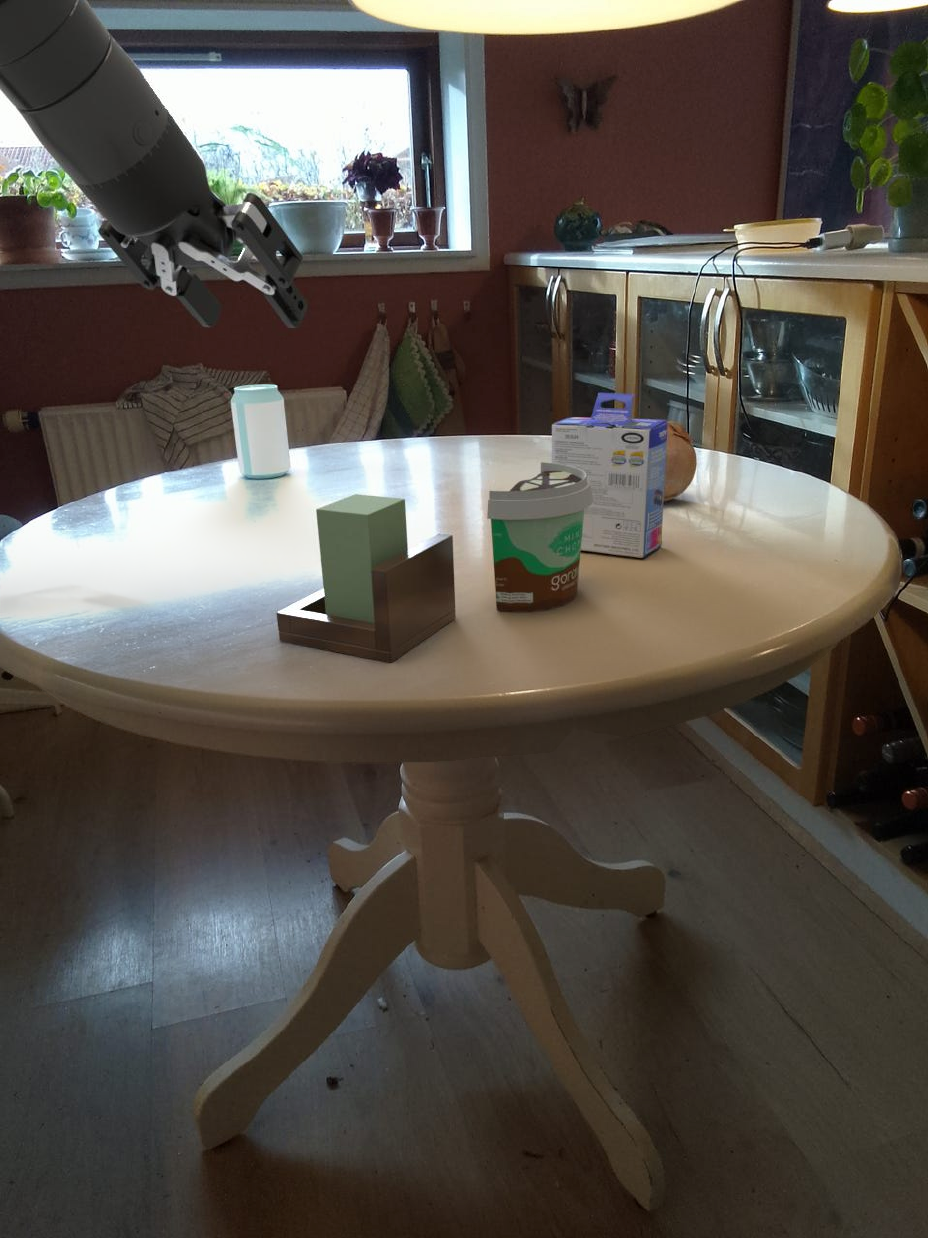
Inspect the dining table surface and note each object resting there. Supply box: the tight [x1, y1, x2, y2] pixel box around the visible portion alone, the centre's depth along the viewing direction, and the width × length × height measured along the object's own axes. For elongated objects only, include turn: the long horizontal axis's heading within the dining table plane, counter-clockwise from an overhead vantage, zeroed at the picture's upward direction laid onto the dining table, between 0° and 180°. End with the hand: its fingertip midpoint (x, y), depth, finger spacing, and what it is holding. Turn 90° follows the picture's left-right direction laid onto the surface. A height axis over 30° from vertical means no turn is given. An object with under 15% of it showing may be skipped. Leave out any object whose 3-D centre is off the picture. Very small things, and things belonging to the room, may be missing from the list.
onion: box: [663, 420, 698, 503], centre depth 103 cm, size 10×9×10 cm
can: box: [230, 384, 291, 480], centre depth 123 cm, size 7×7×12 cm
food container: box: [486, 461, 593, 613], centre depth 73 cm, size 12×6×10 cm, turn 155°
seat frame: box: [275, 533, 456, 663], centre depth 68 cm, size 10×10×7 cm
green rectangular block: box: [315, 493, 409, 623], centre depth 67 cm, size 4×5×9 cm
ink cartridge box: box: [551, 392, 668, 559], centre depth 84 cm, size 10×6×14 cm, turn 61°
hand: (255, 318), depth 69 cm, fingers open, 8 cm apart
